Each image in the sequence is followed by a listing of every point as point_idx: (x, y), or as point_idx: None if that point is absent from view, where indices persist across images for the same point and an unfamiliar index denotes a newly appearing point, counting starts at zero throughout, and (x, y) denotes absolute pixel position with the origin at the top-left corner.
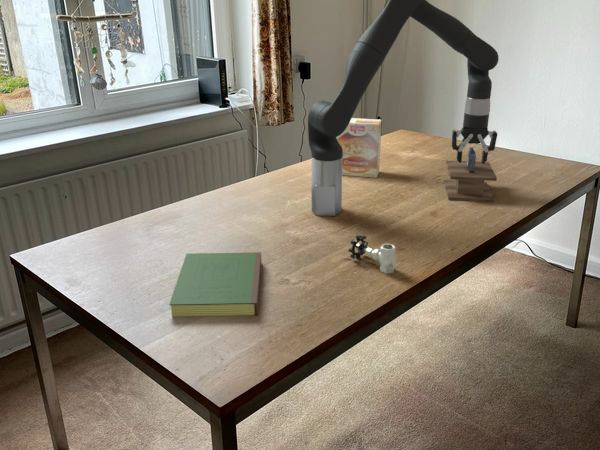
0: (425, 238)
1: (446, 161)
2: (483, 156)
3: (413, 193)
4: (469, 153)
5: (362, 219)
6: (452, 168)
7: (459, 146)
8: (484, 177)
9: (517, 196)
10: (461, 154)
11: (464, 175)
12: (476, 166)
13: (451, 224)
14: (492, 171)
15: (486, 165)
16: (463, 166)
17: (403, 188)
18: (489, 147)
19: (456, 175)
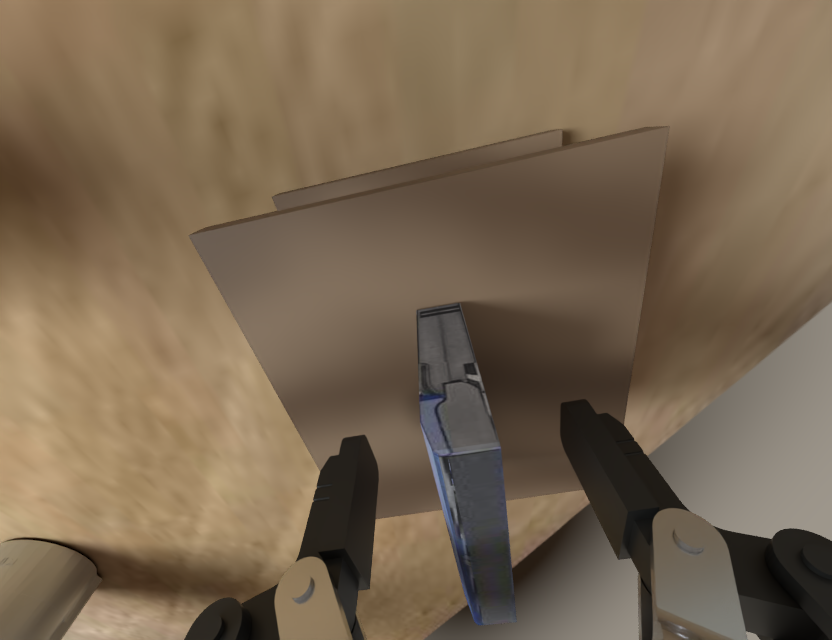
0: (362, 598)
1: (202, 259)
2: (597, 510)
3: (199, 390)
4: (447, 525)
5: (178, 572)
6: (321, 419)
7: (302, 635)
8: (539, 494)
9: (690, 288)
10: (365, 557)
11: (422, 498)
12: (506, 324)
13: (408, 546)
14: (618, 400)
15: (606, 271)
16: (394, 356)
17: (120, 348)
18: (751, 631)
19: (376, 509)
